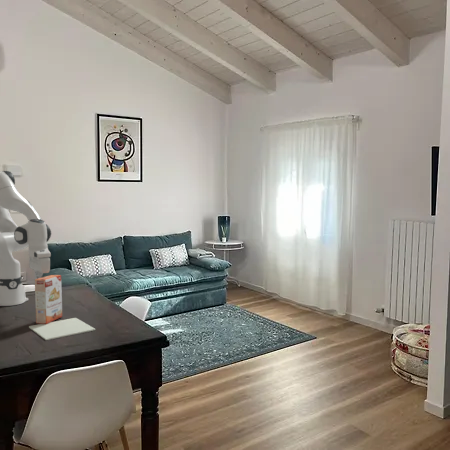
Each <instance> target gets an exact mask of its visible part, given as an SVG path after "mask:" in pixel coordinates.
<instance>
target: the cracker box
mask: <svg viewBox="0 0 450 450" xmlns="http://www.w3.org/2000/svg"><path fill="white" fill-rule="evenodd" d="M62 293H63V292H62V275H61V274H50V275H47V276H42V278H39V279H37V278H35V279H34V295H35V297H34V298H35V301H34V302H35V303H34V304H35V324H37V325H39V324H47V323H50V322H55V320H58V319H61V318H62V317H63V297H62V296H63V294H62Z"/></svg>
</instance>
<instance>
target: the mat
mask: <svg viewBox="0 0 450 450" xmlns="http://www.w3.org/2000/svg"><path fill="white" fill-rule="evenodd" d="M28 328H29V329H30V330H31V331H33V332H34V333H35V334H36V335H38V336H39V337H41V338H42V339H43V340H45V341H50V340H51V341H52V340H55V339H59V338H65V337H69V336H74V335H79V334H83V333H88V332H89V333H90V332H93V331H96V328H94V327H93V326H91V325H89V324H88V323H86V322H84V321H83V320H81V319H79V318H77V317H72V318H67V319H61V320H57V321H55V320H54V321H52V322H49V323H47V324H35V325H33V324H32V325H29V326H28Z"/></svg>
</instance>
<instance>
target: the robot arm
mask: <svg viewBox="0 0 450 450" xmlns="http://www.w3.org/2000/svg"><path fill="white" fill-rule="evenodd" d="M10 211H14V212H16V213H19V214H22V215H24V216H25V217H26V218H27V220H28V221H27V222H26V223H25V224H23V225H19V226H18V225H17V223H16V222H15V220H14V219H13V217H12V216H11V213H10ZM51 237H52V229H51V228H50V226H49V225H48V224H47V223H46V221H45V220H43V219H42V217H41V216H40V214H39V212H37V210H36V209H35V207H34V206H33V204H32V203H31V202H30V201H29V200H28V199H27V198H25V197H24V196H23V195H22V194H21V193H20V192H19V190H18V188H17V186H16V180H15V176H14V174H13V173H12V172H11V171H9V170H1V171H0V307H9V306H16V305H17V306H18V305H21V304H23V303H26V302H27V301H29V297H26V288H25V285H23V284H22V282H23V278H22V276H21V275H22V273H21V270H22V269H21V262H20V260H18V259H17V258H14V256H13V252H17V251H22V250H25V249H26V248H28V268H29V269H31V270H34V272H35V276H36V279H39V278H42V277H43V275H44V274H48V273H50V271H51V256H52V254H51V252H50V250H49V246H48V242H49V240H50V239H51Z"/></svg>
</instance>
